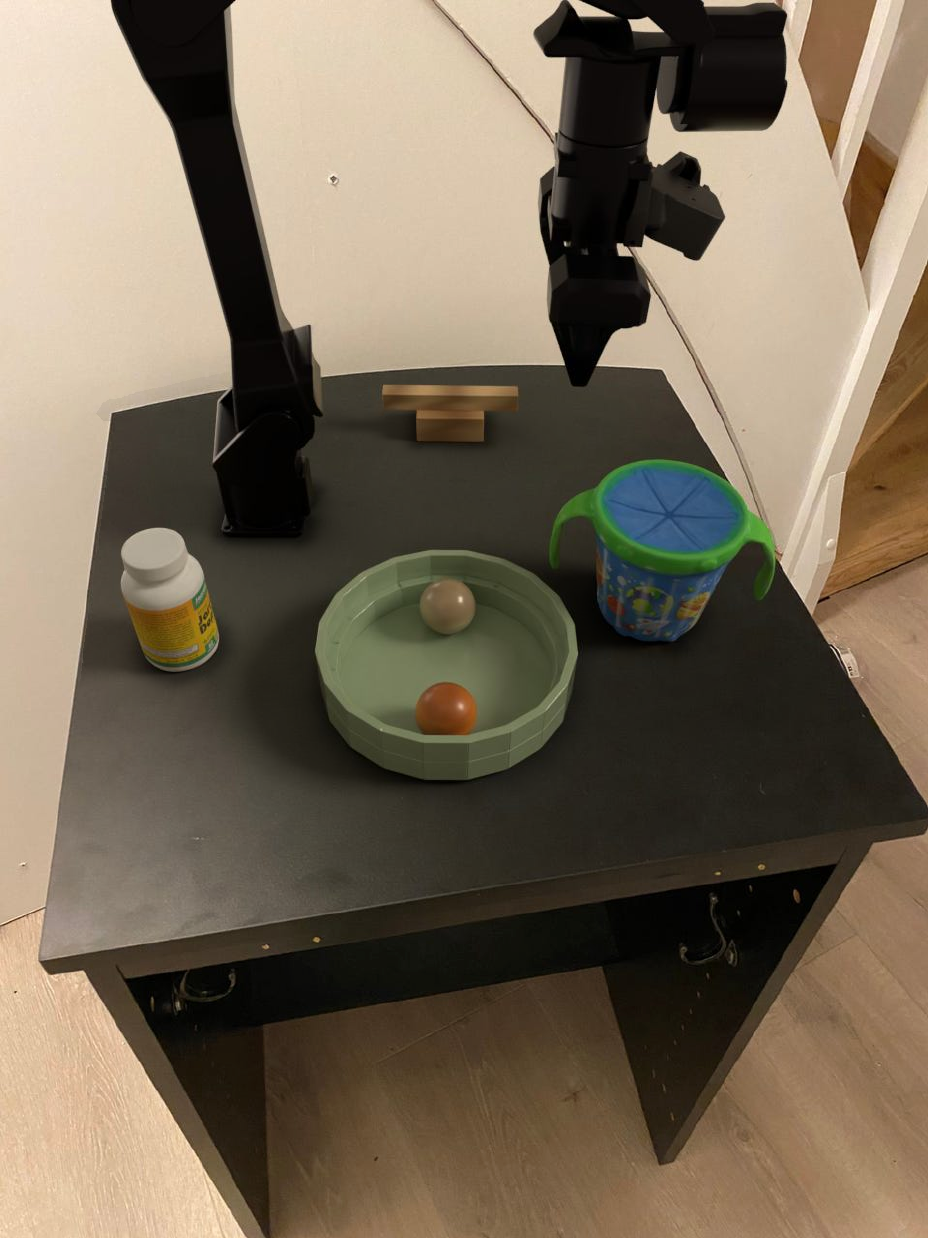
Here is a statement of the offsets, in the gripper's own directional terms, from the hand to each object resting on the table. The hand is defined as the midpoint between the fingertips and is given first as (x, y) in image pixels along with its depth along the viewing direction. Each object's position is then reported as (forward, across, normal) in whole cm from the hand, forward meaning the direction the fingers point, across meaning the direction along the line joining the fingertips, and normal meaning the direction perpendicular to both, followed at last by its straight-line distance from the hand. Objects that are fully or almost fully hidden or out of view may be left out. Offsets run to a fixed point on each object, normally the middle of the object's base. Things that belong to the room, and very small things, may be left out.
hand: (574, 351), depth 71 cm
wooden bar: (+11, +9, +9) cm, 17 cm away
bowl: (+13, -21, +9) cm, 27 cm away
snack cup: (+13, -14, -6) cm, 20 cm away
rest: (+13, +9, +9) cm, 18 cm away
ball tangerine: (+11, -26, +9) cm, 30 cm away
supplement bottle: (+14, -19, +28) cm, 36 cm away
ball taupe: (+11, -16, +9) cm, 22 cm away
